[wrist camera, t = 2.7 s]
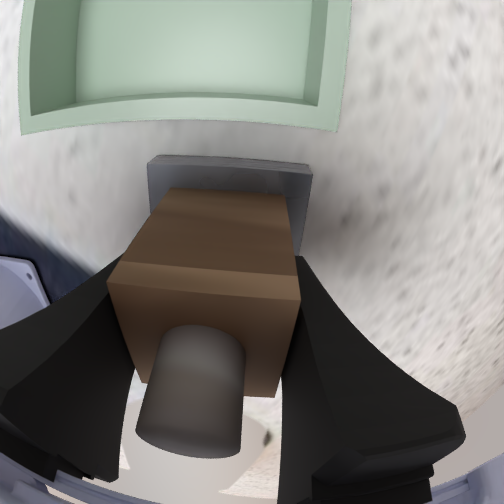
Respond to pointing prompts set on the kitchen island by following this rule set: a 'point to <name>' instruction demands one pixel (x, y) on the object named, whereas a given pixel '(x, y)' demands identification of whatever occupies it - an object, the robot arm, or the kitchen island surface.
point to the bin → (182, 61)
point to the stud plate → (235, 181)
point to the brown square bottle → (207, 313)
